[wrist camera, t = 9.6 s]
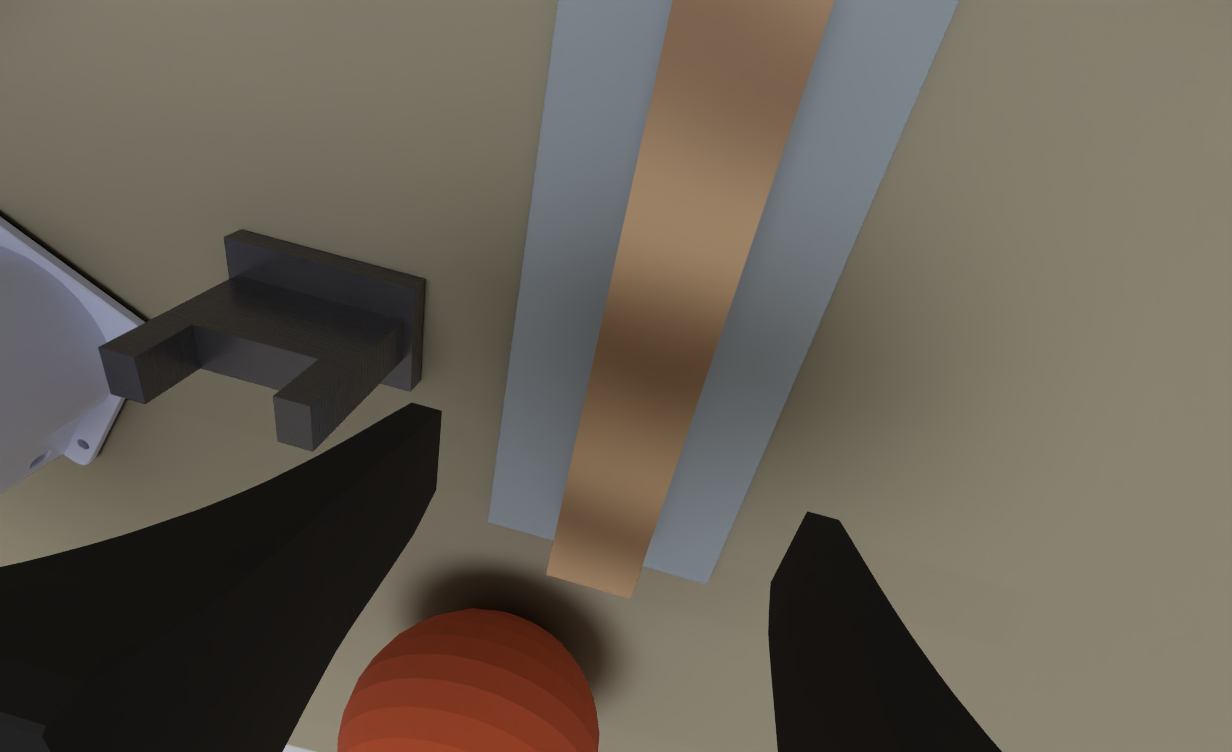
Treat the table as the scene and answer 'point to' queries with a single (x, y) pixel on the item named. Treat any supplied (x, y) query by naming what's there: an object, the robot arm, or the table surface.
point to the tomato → (471, 691)
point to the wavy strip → (679, 266)
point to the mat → (770, 281)
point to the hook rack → (283, 335)
